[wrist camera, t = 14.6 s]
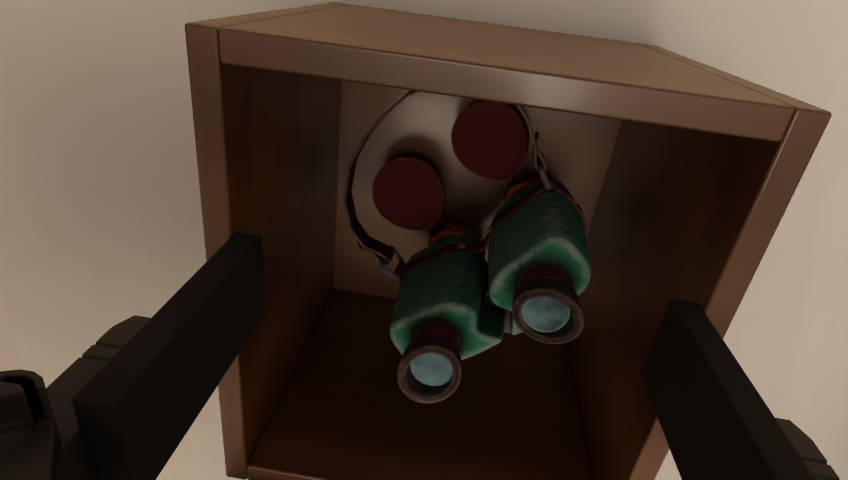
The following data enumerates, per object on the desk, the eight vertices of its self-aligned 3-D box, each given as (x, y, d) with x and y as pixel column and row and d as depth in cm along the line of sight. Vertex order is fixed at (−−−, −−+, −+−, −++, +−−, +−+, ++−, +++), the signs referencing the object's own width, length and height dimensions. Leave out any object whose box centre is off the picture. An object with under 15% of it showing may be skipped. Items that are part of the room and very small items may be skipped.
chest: (331, 2, 23) (182, 22, 12) (657, 46, 22) (834, 112, 11) (323, 290, 30) (225, 477, 19) (569, 329, 30) (622, 547, 18)
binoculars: (465, 54, 12) (658, 351, 15) (483, 33, 22) (599, 216, 24) (221, 236, 15) (414, 454, 18) (330, 148, 25) (446, 300, 28)
